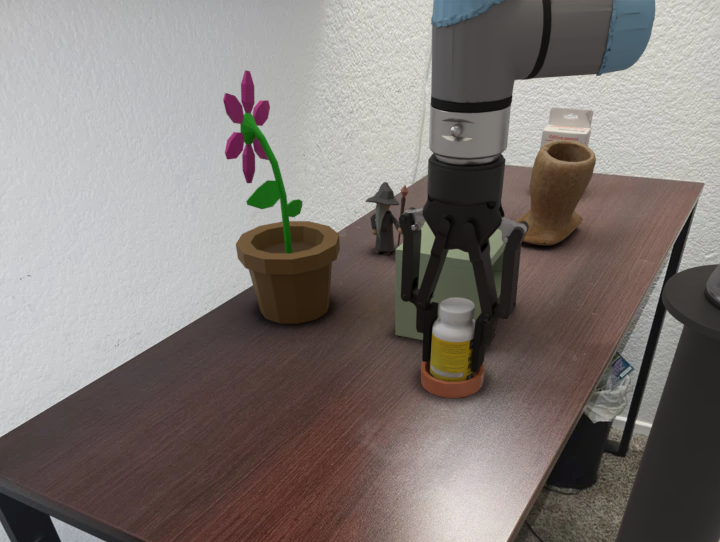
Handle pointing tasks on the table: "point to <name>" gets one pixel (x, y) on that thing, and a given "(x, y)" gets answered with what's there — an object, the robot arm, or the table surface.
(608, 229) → the table surface
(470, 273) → the shelf
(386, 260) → the table surface
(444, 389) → the holder
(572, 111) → the ink cartridge box
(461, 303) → the supplement bottle
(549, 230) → the stone cup
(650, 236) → the table surface
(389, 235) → the wizard figurine
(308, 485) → the table surface
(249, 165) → the flowerpot
